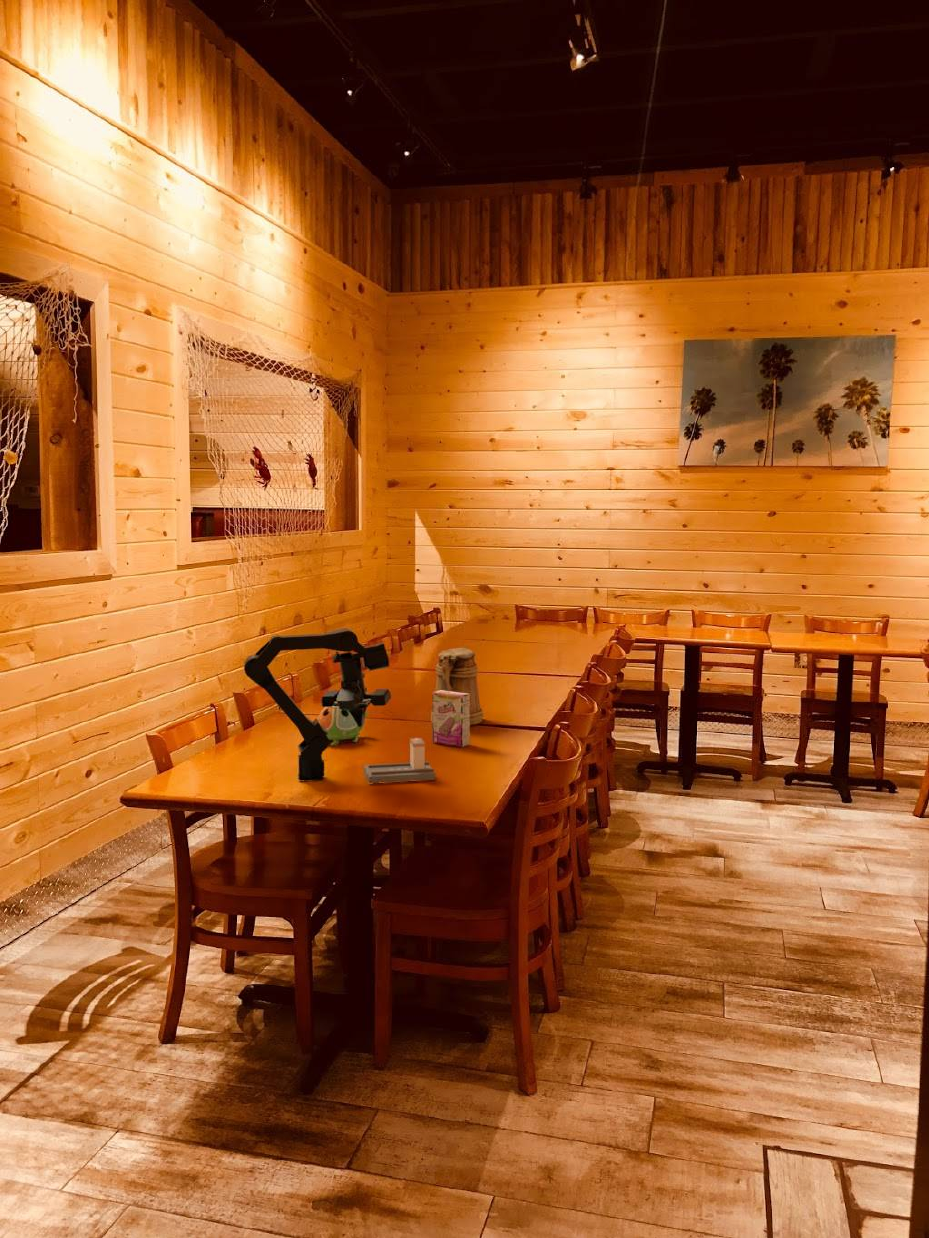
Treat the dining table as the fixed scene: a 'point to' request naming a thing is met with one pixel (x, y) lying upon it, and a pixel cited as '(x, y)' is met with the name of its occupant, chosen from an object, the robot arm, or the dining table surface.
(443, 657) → the tankard
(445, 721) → the candy bar box
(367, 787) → the dining table surface
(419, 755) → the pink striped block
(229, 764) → the dining table surface
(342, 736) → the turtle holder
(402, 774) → the toy road segment
